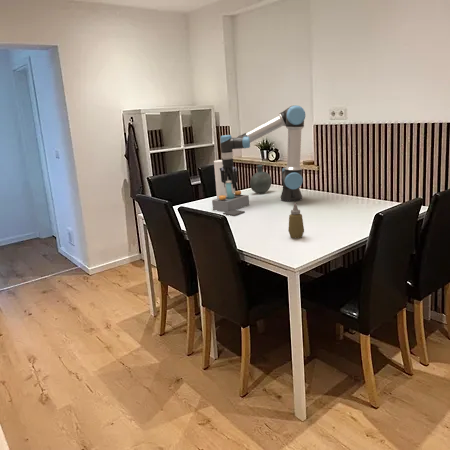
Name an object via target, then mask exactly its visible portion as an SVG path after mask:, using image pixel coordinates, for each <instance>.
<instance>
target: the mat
mask: <svg viewBox="0 0 450 450" xmlns="http://www.w3.org/2000/svg"><path fill="white" fill-rule="evenodd" d="M244 213H246V212H245V210H239V209H237V210H231V211H228V212H223V213H222V214H226V215H225V216H229V215H230V216H231V217H236V216H239V215H243V214H244Z"/></svg>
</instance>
